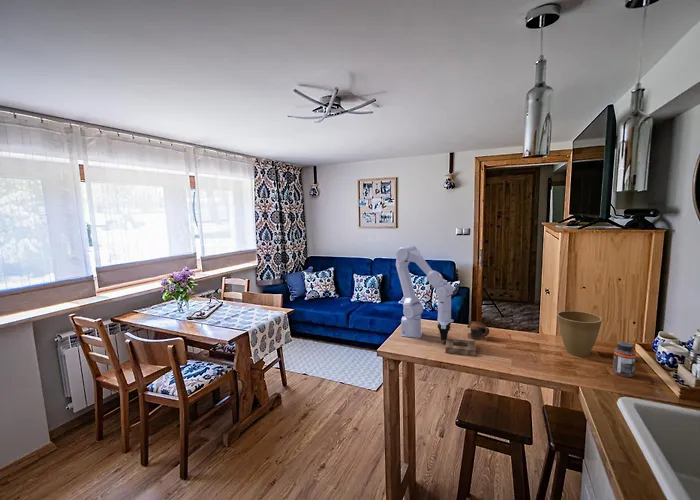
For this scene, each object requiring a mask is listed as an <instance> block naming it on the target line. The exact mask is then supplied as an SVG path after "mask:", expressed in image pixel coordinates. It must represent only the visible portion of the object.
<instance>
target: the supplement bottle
mask: <svg viewBox="0 0 700 500" xmlns="http://www.w3.org/2000/svg"><path fill="white" fill-rule="evenodd" d="M633 347H634V346H633V344H631V343H630V342H625V341H619V342H618V343H617V346H616V347H615V348H614V349H613V363H612V370H613V373H614V374H616V375H619V376H621V377H624V378H632V377H634V376H635V371H636V366H635V365H636V356H637V355H636V351H634V350H633Z"/></svg>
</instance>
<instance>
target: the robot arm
mask: <svg viewBox="0 0 700 500" xmlns="http://www.w3.org/2000/svg"><path fill="white" fill-rule="evenodd" d="M395 256H396V260H395V267H396V271H397V274H398V279H399V282H400V286H401V291H402V293H403V296H404V297H403V298H404V301H403V303H402V306H403V311H402V312H403V315H404V316H402V317H401V319H400V320H401V322H400V324H401V325H400V327H401V328H400V331H401V335H400V336H401V337H405V338H415V339H419V338H420V339H421V338H422V335H423V331H422V314H423V312H424V305H423V304H422V303H421V301H420V299H419V298H418V297H417V295H416V292H415V289H414V285H413V282H412V281H413V280H412V277H411V274H410V270H409V267H408V266H409V264H410V263H415V265H417V266H418V267H419V268H420V270H421V271H422V272H423V273H424V274H425V275H426V280H427V281H428V282H429V284H430V285H431V286H432V287H433V289H434V290H435V294H436V296H437V323H438V324H437V329H438V330H439V331H438V332H439V335H440V341H441V340H445V341H446V339H447V335H449V331H450V330H451V326H452V325H451V324H452V323H453V322H454V319H452V294H453V292H454V287H453V285H452V284H451V283H448V281H446V280H444V278H443V277H442V276H441V273H440V272H439V271H437V270H433V269H432V268H431V267H430V265H429V264H428V262H427V261H426V260H425V259H424V257H423V255H421V252H420V250H419V249H418V248H417V247H416V246H415V245H412V244H411V245H407V246H401V247H399V248H398V249H397V251H396V252H395Z"/></svg>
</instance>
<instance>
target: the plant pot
mask: <svg viewBox="0 0 700 500" xmlns="http://www.w3.org/2000/svg"><path fill="white" fill-rule="evenodd" d="M556 316H557V321H558V322H557V323H558V328H559V332H560V335H561V339H562V342H563V345H564V348H565V351H566V352H567V353H568V354H569V355H571V356H574V357H575V356H576V357H580V358H581V357H582V358H585V357H589V355H590V354H591V352H592V350H593V348H594V346H595V344H596V341H597V339H598V336H599V333H600V331H601V324H602V322H603V321H602V320H603V319H602V317H601V316H599V315H597V314H593V313H589V312H586V311H577V310H563V311H559V312H557V315H556Z"/></svg>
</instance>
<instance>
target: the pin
mask: <svg viewBox="0 0 700 500" xmlns="http://www.w3.org/2000/svg"><path fill="white" fill-rule="evenodd" d="M448 335H449V334H448ZM448 335H447V338H448V339H449V337H448ZM440 343H441V344H443V345H446V341H445V340H441V339H440Z"/></svg>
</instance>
